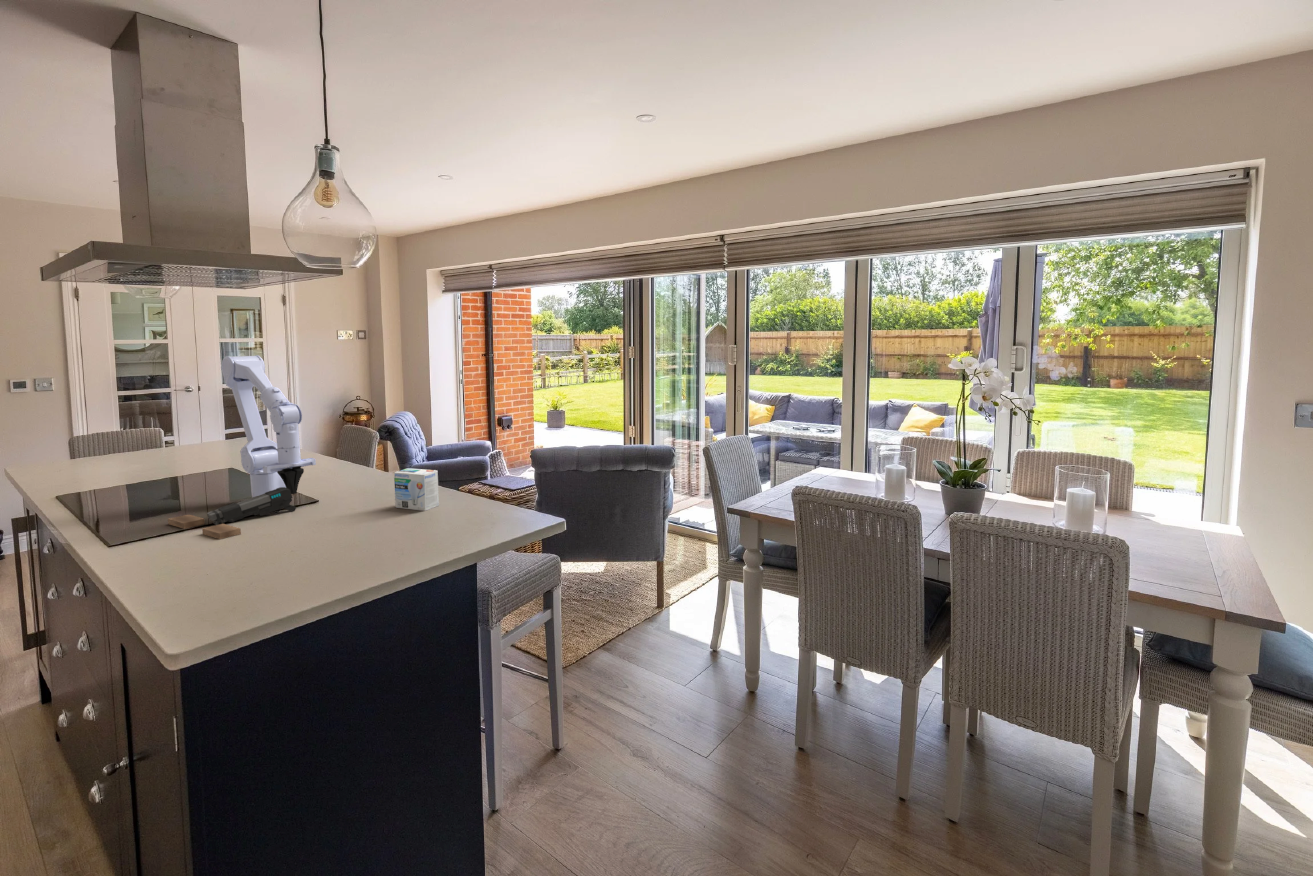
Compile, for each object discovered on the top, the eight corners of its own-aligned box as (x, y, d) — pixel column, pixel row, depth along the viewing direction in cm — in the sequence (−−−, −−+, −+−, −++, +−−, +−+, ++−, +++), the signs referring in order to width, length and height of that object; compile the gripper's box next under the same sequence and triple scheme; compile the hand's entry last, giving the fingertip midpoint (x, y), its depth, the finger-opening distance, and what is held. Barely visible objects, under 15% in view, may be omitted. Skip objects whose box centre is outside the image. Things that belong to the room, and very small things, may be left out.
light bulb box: (394, 508, 195) (392, 472, 194) (409, 502, 202) (407, 467, 200) (426, 511, 192) (424, 474, 190) (440, 505, 199) (438, 469, 197)
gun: (300, 510, 191) (285, 480, 187) (227, 547, 179) (209, 516, 175) (295, 507, 194) (279, 477, 190) (223, 544, 182) (205, 512, 178)
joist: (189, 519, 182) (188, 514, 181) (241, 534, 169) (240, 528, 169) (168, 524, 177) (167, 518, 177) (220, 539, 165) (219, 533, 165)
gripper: (271, 452, 183) (276, 500, 185) (320, 444, 196) (324, 490, 198) (256, 449, 186) (261, 497, 189) (305, 442, 199) (309, 487, 201)
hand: (292, 493), depth 193 cm, fingers closed
